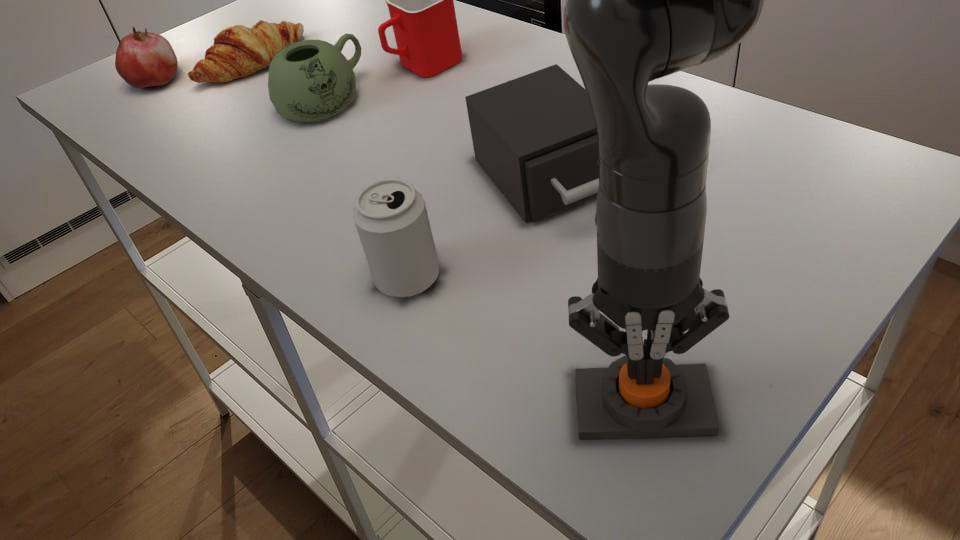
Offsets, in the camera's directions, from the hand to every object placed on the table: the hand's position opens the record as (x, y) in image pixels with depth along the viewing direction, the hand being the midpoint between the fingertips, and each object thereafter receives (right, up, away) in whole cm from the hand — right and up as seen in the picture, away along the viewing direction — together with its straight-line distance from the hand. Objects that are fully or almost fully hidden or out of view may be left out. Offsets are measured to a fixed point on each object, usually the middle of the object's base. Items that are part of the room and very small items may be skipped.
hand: (644, 376), depth 66 cm
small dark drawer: (-5, +20, +25) cm, 33 cm away
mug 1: (-37, +35, +48) cm, 70 cm away
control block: (+1, -3, +3) cm, 4 cm away
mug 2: (-23, +41, +51) cm, 70 cm away
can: (-22, +8, +19) cm, 30 cm away
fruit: (-68, +40, +59) cm, 98 cm away
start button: (0, -1, +1) cm, 2 cm away
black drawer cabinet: (-6, +22, +29) cm, 36 cm away
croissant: (-52, +43, +59) cm, 90 cm away
